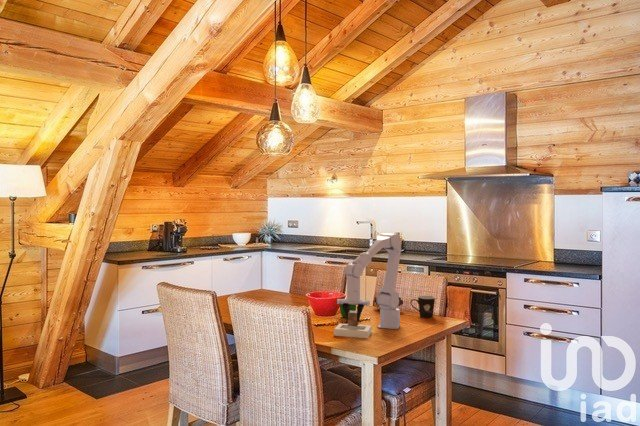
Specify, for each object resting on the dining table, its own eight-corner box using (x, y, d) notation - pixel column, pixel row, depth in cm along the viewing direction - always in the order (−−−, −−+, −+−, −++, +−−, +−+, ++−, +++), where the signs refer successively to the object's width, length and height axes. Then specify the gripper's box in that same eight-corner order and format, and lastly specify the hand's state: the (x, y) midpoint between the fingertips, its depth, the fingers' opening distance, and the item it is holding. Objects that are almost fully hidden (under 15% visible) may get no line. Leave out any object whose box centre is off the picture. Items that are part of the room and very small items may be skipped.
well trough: (371, 332, 238) (371, 325, 238) (367, 338, 229) (367, 331, 229) (339, 329, 242) (339, 323, 242) (334, 335, 233) (334, 328, 233)
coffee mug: (437, 316, 270) (437, 296, 269) (431, 319, 263) (431, 299, 262) (416, 313, 276) (416, 294, 276) (409, 316, 269) (409, 297, 268)
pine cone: (406, 310, 283) (406, 291, 283) (398, 313, 275) (398, 294, 274) (376, 306, 293) (376, 288, 292) (368, 309, 284) (368, 291, 284)
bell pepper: (337, 318, 265) (337, 298, 264) (342, 314, 272) (342, 295, 272) (353, 319, 262) (353, 299, 261) (358, 316, 269) (358, 296, 269)
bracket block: (358, 324, 237) (358, 311, 237) (356, 326, 233) (356, 313, 233) (349, 323, 238) (349, 310, 238) (347, 325, 234) (348, 312, 234)
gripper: (335, 291, 233) (335, 321, 233) (367, 293, 229) (367, 323, 230) (339, 288, 240) (339, 317, 240) (370, 290, 236) (370, 320, 236)
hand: (353, 320), depth 235 cm, fingers closed on bracket block, 4 cm apart
